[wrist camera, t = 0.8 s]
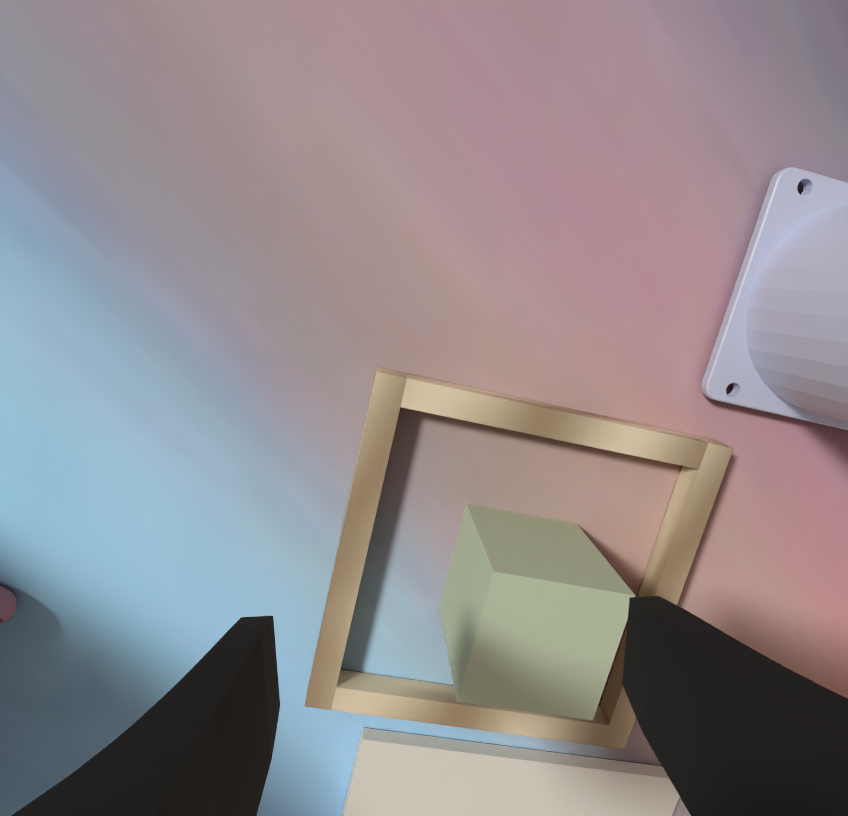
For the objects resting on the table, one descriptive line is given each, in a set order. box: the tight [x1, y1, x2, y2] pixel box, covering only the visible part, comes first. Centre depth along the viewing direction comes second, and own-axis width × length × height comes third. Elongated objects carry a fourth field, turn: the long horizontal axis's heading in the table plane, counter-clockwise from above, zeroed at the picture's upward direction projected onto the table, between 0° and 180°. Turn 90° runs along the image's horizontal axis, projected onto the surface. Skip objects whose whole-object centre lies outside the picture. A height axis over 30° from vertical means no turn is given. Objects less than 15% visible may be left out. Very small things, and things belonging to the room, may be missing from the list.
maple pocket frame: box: [305, 367, 733, 749], centre depth 21 cm, size 13×13×1 cm
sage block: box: [439, 504, 635, 720], centre depth 19 cm, size 4×4×5 cm
